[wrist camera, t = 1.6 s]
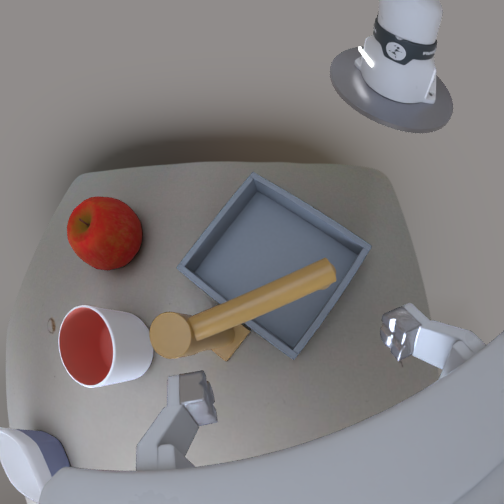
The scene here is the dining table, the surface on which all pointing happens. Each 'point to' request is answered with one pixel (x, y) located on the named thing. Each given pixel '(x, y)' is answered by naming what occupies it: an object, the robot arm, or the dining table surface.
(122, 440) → the dining table surface
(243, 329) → the faucet base
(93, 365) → the cup
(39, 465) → the bowl
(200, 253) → the sink
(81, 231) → the apple
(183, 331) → the spout
